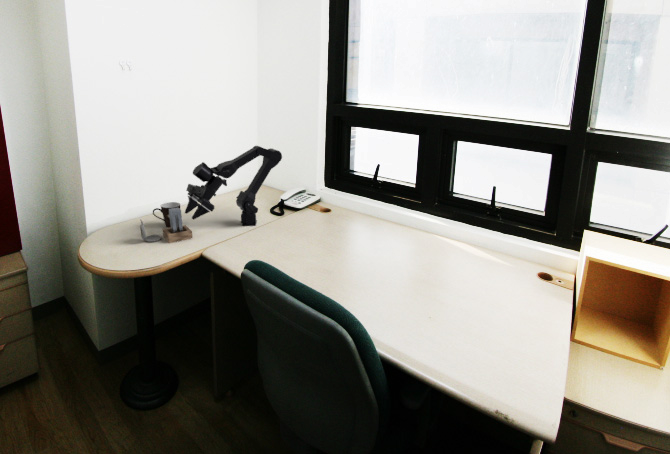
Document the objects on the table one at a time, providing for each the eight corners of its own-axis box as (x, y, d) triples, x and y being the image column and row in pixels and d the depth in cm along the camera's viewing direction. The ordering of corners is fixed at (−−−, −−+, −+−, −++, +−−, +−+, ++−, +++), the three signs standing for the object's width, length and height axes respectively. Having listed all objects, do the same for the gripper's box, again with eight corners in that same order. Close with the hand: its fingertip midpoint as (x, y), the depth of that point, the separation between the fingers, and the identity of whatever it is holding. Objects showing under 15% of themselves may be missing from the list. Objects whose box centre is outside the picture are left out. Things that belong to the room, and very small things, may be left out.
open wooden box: (185, 232, 202) (185, 224, 201) (192, 238, 195) (191, 231, 194) (163, 236, 197) (162, 229, 195) (169, 243, 190) (168, 235, 189)
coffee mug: (185, 222, 214) (183, 202, 210) (177, 228, 206) (175, 208, 202) (162, 221, 215) (159, 201, 211) (153, 227, 207) (150, 206, 203)
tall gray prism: (180, 233, 198) (178, 207, 194) (183, 235, 195) (180, 209, 191) (171, 234, 196) (168, 208, 192) (174, 237, 193) (171, 211, 189)
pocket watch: (164, 238, 194) (161, 216, 191) (149, 245, 187) (146, 222, 184) (150, 235, 198) (147, 213, 194) (135, 241, 190) (132, 219, 187)
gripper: (189, 172, 200) (167, 200, 198) (204, 181, 186) (181, 211, 184) (208, 187, 207) (187, 214, 205) (224, 196, 193) (201, 225, 191)
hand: (188, 216), depth 196 cm, fingers open, 9 cm apart
